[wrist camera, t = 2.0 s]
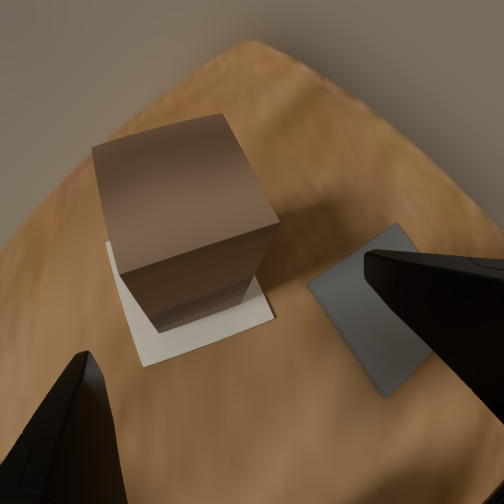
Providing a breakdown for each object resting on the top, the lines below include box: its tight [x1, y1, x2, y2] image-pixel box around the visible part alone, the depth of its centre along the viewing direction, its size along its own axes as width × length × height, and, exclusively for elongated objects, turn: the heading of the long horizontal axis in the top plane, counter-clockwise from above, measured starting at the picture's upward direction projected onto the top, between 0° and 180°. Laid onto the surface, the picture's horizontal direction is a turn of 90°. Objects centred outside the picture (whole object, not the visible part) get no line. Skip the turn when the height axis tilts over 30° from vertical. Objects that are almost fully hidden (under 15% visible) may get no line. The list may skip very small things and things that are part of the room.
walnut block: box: [92, 113, 280, 333], centre depth 16 cm, size 6×6×11 cm
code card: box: [106, 241, 274, 367], centre depth 21 cm, size 9×9×1 cm
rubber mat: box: [307, 222, 433, 398], centre depth 23 cm, size 10×10×1 cm
